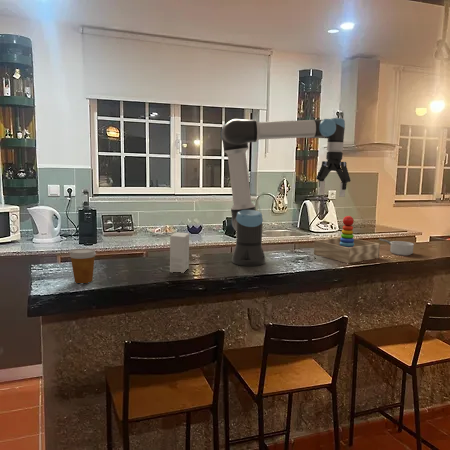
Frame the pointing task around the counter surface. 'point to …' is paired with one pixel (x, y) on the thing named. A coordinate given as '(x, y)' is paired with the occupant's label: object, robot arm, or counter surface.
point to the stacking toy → (347, 233)
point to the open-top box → (346, 250)
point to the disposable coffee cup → (83, 264)
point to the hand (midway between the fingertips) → (331, 195)
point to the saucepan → (400, 247)
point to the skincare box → (179, 252)
